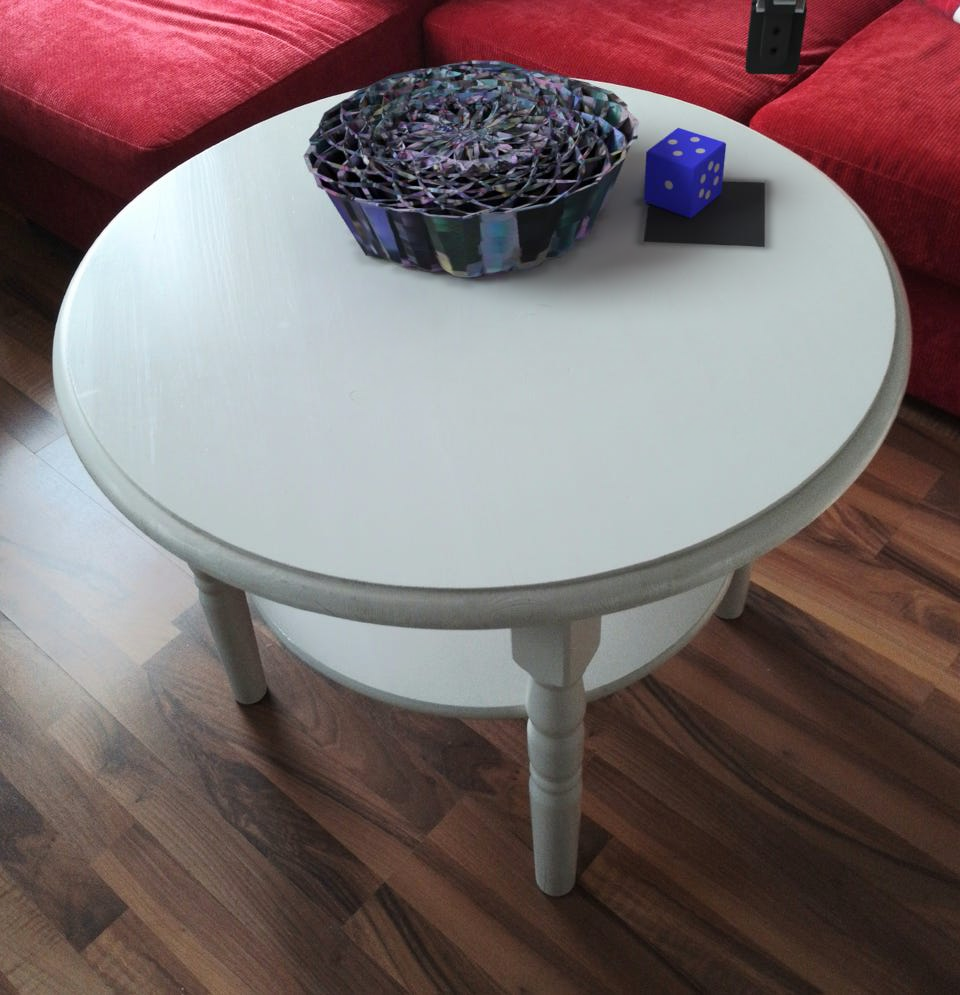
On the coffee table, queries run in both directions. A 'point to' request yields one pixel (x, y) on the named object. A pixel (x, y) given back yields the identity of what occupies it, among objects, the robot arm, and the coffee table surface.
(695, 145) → the die
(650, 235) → the pad
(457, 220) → the decorative bowl
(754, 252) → the coffee table surface
